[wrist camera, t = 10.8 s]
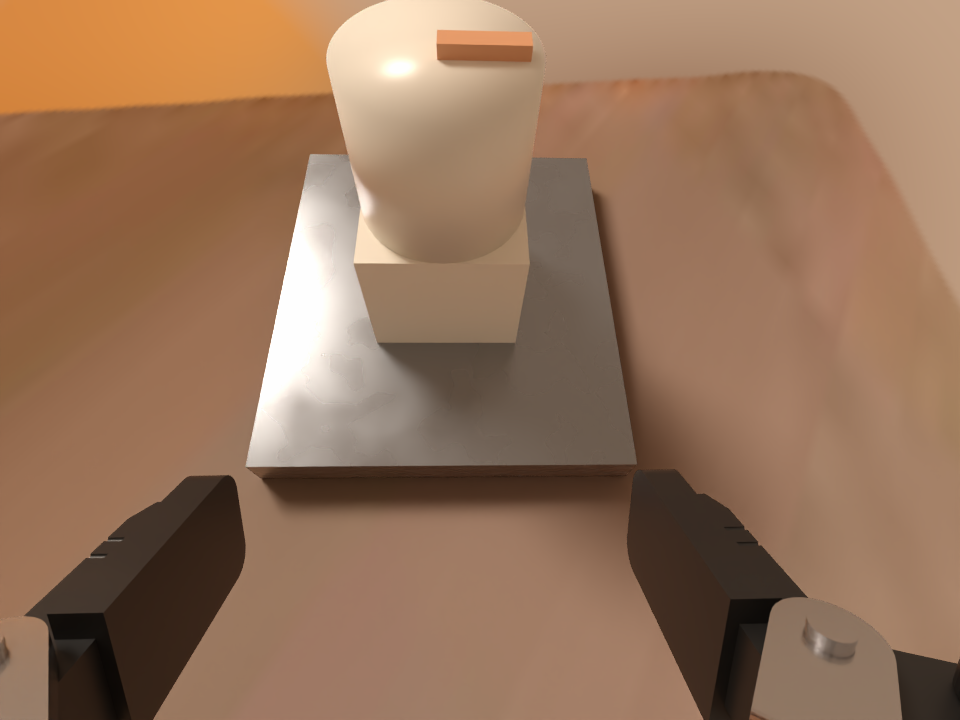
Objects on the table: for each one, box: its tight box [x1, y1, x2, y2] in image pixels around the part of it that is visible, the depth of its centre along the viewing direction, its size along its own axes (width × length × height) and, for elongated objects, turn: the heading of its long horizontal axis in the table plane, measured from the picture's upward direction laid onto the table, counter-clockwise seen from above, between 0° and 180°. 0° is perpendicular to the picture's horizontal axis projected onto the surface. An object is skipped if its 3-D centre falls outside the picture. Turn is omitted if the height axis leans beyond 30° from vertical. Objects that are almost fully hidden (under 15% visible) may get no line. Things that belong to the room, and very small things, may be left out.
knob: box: [326, 0, 546, 343], centre depth 17 cm, size 6×6×10 cm
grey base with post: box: [246, 154, 637, 478], centre depth 20 cm, size 14×16×6 cm
